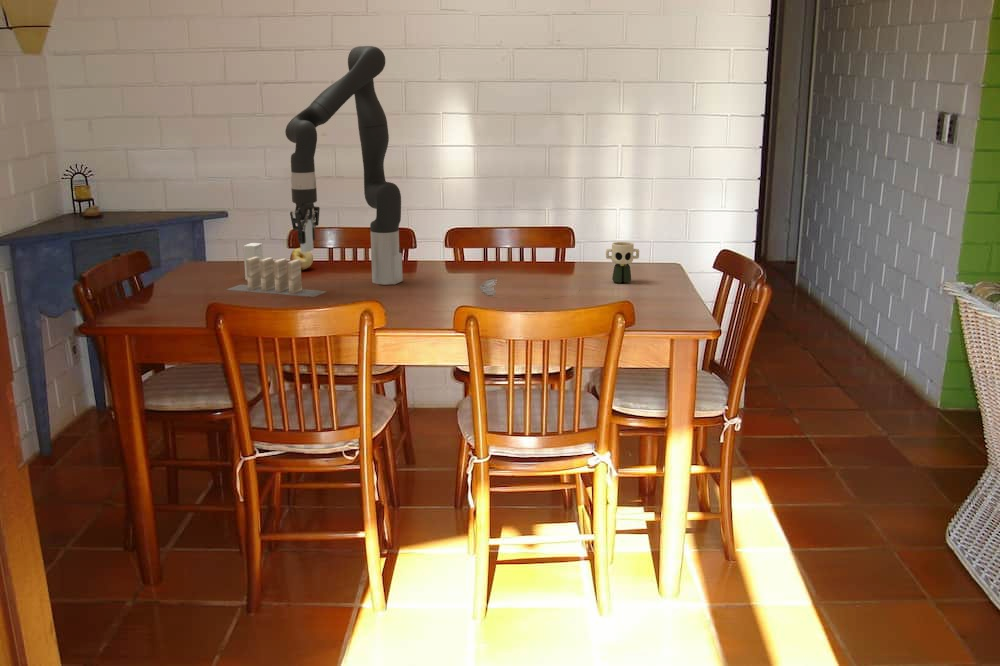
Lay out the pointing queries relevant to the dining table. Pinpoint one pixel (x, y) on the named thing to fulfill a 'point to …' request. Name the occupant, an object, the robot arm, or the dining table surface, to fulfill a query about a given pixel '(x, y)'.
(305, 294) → the mat
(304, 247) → the domino
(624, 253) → the character mug
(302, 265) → the fruit
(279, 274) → the domino
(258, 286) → the domino
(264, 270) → the domino
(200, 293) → the dining table surface
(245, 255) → the skincare box
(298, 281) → the domino
